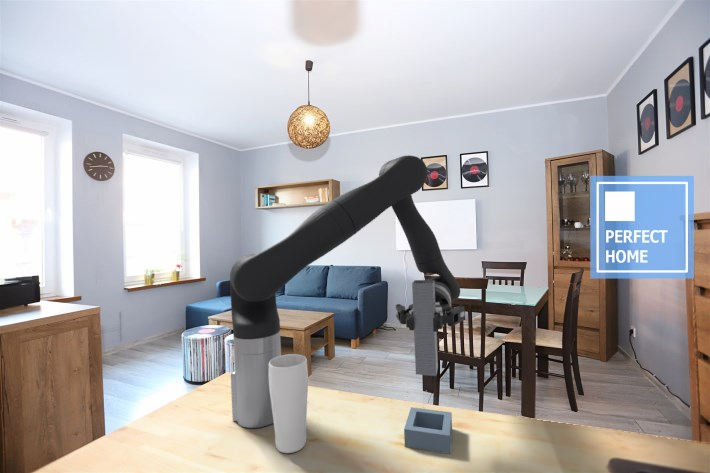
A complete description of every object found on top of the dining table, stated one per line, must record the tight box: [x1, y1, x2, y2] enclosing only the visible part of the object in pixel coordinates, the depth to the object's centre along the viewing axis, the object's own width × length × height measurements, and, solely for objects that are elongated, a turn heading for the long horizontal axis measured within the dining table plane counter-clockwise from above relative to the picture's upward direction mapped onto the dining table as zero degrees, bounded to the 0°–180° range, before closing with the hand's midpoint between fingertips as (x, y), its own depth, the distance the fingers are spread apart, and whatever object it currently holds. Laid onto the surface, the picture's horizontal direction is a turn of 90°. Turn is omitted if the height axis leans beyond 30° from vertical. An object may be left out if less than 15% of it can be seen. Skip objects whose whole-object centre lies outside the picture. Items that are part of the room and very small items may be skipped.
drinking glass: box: [268, 353, 309, 454], centre depth 59 cm, size 7×7×15 cm
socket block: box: [403, 406, 453, 455], centre depth 60 cm, size 8×8×3 cm
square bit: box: [411, 279, 439, 377], centre depth 60 cm, size 4×4×16 cm
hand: (423, 325), depth 57 cm, fingers closed on square bit, 3 cm apart
